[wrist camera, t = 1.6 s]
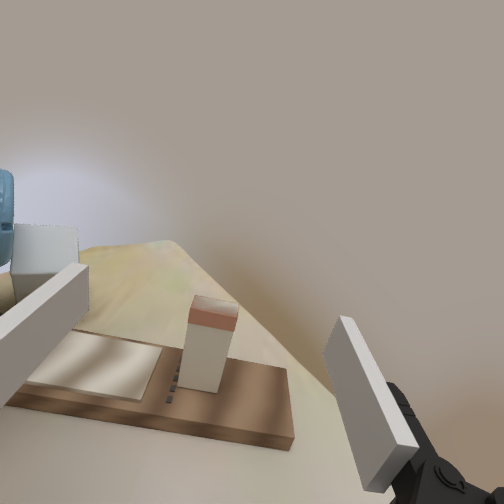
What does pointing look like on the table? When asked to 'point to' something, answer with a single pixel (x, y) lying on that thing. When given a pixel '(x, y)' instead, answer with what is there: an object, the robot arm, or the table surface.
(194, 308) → the stub
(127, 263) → the table surface
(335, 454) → the table surface
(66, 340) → the board
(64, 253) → the supplement box
